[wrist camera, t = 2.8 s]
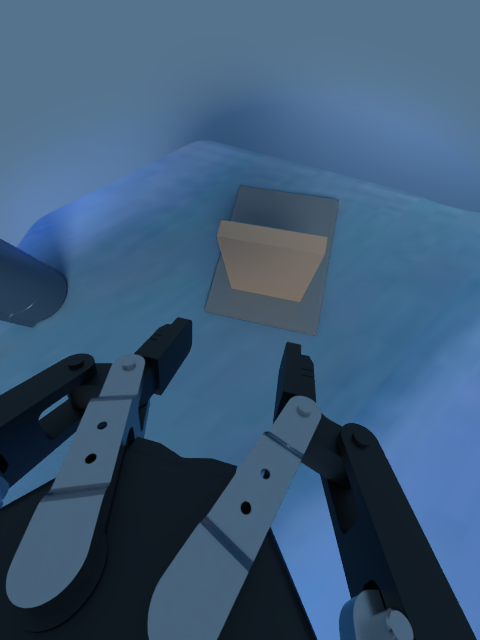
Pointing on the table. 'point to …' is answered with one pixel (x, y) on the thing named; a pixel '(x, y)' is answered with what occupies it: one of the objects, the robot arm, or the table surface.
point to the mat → (286, 215)
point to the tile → (270, 258)
